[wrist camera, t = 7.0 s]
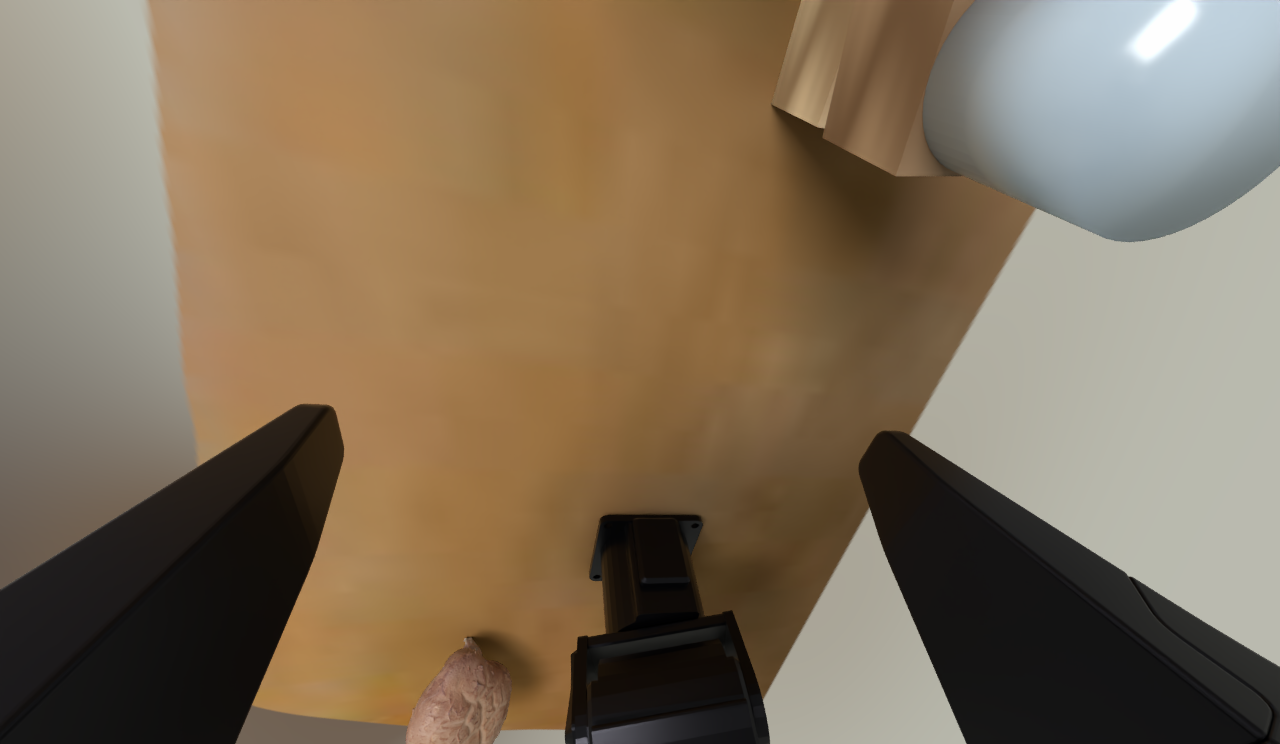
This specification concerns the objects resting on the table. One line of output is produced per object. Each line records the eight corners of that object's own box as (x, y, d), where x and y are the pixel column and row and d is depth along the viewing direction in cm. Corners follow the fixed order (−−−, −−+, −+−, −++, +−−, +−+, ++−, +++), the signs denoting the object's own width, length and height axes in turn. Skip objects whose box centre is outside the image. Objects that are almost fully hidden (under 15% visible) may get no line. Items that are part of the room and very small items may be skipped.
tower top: (947, 138, 15) (1050, 176, 12) (822, 137, 14) (895, 175, 11) (1010, -32, 13) (1162, -42, 9) (863, -40, 12) (971, -53, 9)
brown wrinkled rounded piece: (423, 617, 34) (392, 757, 28) (513, 612, 35) (503, 745, 29) (434, 666, 39) (410, 796, 32) (514, 660, 40) (506, 785, 34)
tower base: (870, 122, 18) (935, 148, 15) (770, 104, 17) (817, 127, 14) (924, -13, 16) (1014, -15, 13) (812, -41, 15) (879, -52, 12)
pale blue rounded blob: (1033, 187, 12) (1203, 254, 9) (889, 161, 11) (1020, 226, 8) (1163, -21, 10) (1458, -32, 6) (993, -73, 9) (1236, -112, 6)
